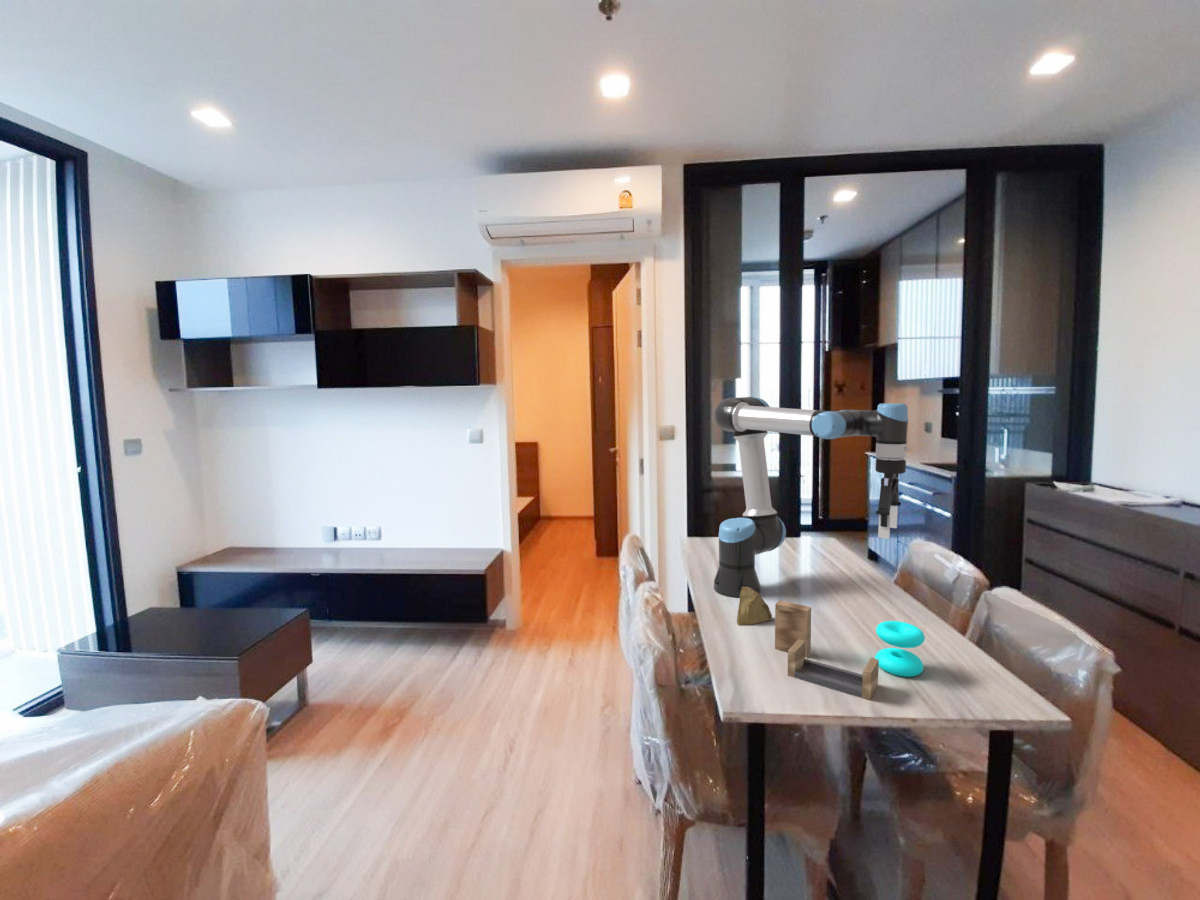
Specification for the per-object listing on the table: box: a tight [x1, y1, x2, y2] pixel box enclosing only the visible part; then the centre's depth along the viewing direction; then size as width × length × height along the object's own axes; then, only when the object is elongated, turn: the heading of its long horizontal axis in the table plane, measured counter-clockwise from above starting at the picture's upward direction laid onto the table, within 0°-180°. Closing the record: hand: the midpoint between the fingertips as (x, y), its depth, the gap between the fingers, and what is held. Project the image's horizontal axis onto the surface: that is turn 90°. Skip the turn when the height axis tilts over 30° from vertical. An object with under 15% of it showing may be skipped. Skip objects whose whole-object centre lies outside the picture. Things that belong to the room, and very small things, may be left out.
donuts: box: [874, 620, 925, 678], centre depth 128 cm, size 10×10×10 cm
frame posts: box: [787, 639, 880, 701], centre depth 123 cm, size 18×7×6 cm, turn 52°
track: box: [794, 658, 863, 699], centre depth 123 cm, size 14×7×2 cm, turn 52°
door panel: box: [774, 599, 812, 659], centre depth 137 cm, size 8×3×12 cm, turn 52°
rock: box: [736, 586, 773, 626], centre depth 156 cm, size 11×9×10 cm
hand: (887, 532), depth 154 cm, fingers open, 13 cm apart
